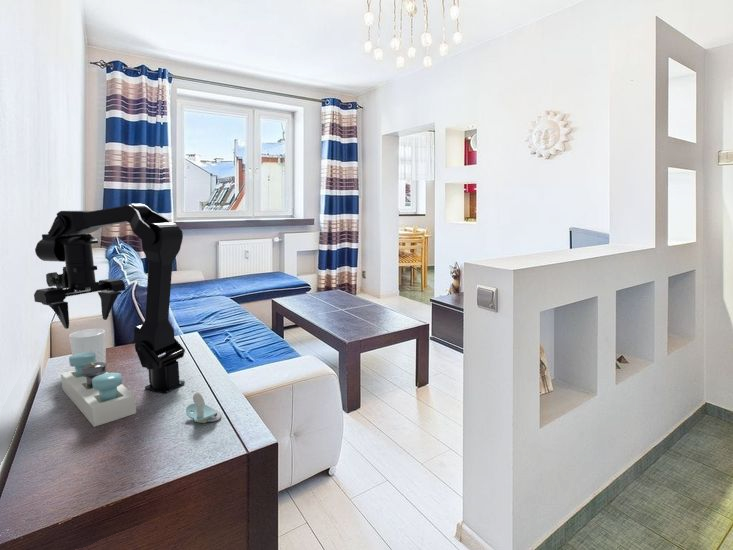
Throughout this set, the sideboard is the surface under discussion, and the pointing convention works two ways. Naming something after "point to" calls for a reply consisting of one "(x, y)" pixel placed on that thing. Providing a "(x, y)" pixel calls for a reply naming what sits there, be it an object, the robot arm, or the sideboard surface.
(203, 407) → the pacifier
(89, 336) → the white cup
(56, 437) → the sideboard surface
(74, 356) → the far knob
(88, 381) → the pot dial
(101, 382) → the near knob
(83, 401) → the knob housing
